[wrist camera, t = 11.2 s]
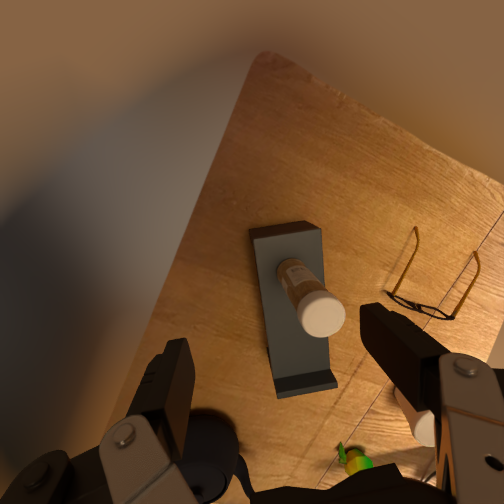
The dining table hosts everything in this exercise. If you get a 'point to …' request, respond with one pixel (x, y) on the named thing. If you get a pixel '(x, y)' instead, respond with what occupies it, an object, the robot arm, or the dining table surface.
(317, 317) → the sprinkles bottle
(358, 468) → the apple
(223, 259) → the dining table surface
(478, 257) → the eyeglasses
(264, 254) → the shelf
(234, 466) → the teapot
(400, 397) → the cup
